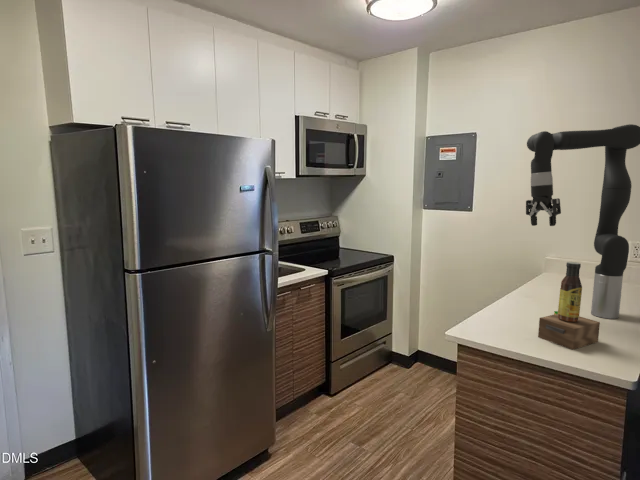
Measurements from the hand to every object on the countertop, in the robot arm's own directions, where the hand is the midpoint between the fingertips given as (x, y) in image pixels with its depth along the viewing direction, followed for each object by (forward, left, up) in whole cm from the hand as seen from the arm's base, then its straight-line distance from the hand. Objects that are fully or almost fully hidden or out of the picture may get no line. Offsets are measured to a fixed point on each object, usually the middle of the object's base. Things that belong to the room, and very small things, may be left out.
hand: (543, 225), depth 157 cm
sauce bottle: (+14, +21, -30) cm, 39 cm away
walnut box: (+14, +21, -37) cm, 45 cm away
